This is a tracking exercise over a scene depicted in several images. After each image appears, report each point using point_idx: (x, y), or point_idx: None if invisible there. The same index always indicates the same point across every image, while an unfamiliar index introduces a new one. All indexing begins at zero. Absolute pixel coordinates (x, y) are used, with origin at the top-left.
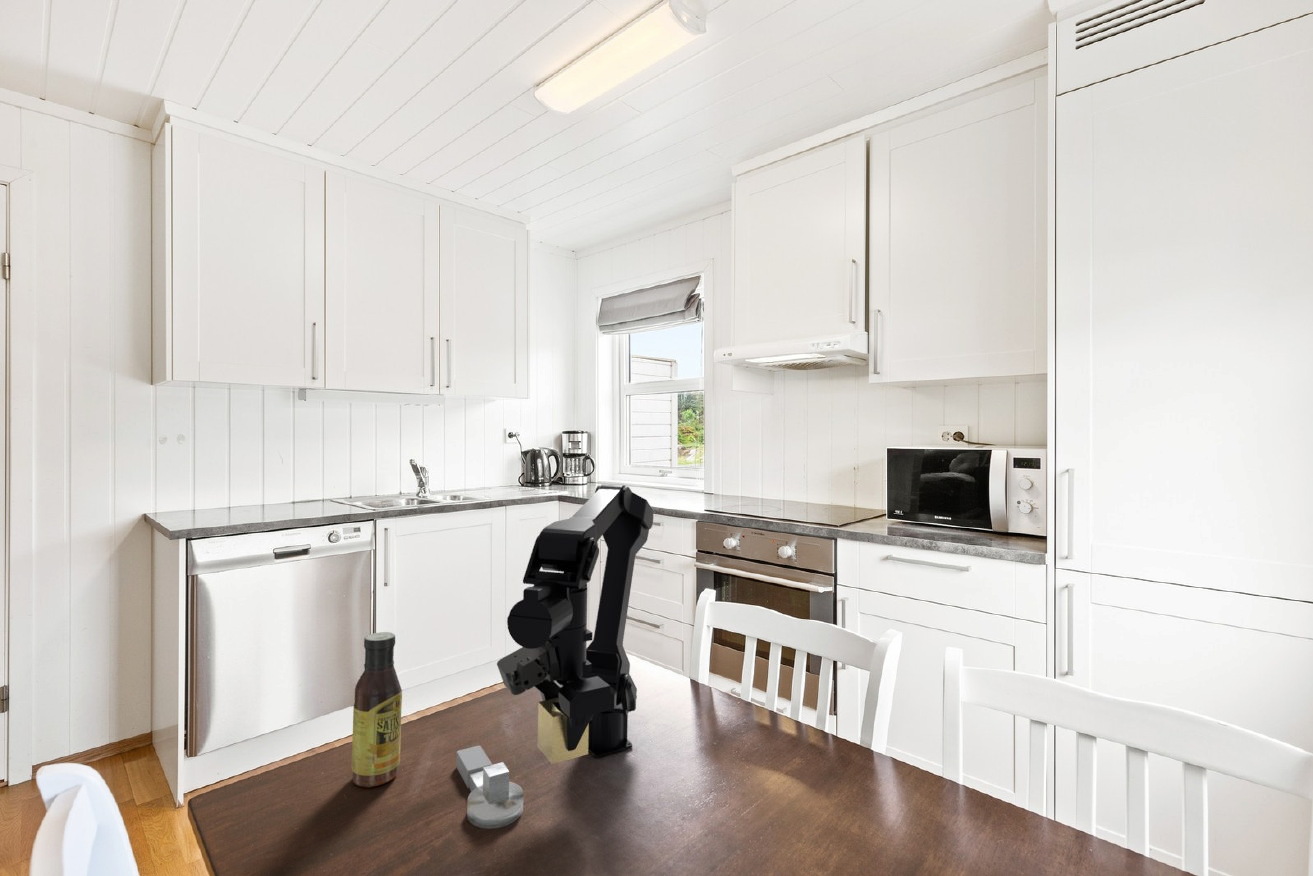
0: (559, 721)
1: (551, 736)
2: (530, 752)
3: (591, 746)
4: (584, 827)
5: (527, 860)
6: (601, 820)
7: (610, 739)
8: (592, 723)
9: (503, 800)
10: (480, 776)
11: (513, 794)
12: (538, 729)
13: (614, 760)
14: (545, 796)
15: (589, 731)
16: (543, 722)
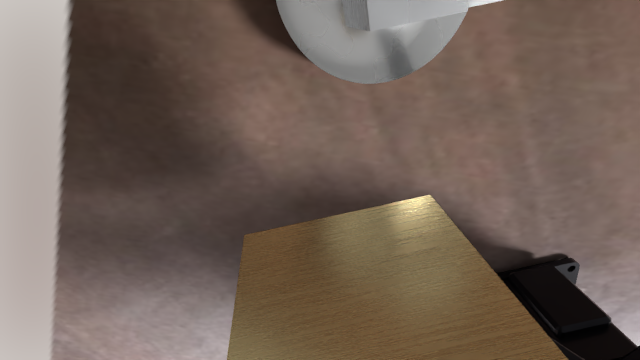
0: None
1: (249, 347)
2: (604, 137)
3: (511, 285)
4: (213, 212)
5: (90, 46)
6: (231, 249)
7: None
8: (553, 339)
9: (340, 3)
10: None
11: (362, 47)
12: (469, 254)
13: None
14: (377, 144)
15: (541, 313)
16: (417, 345)
